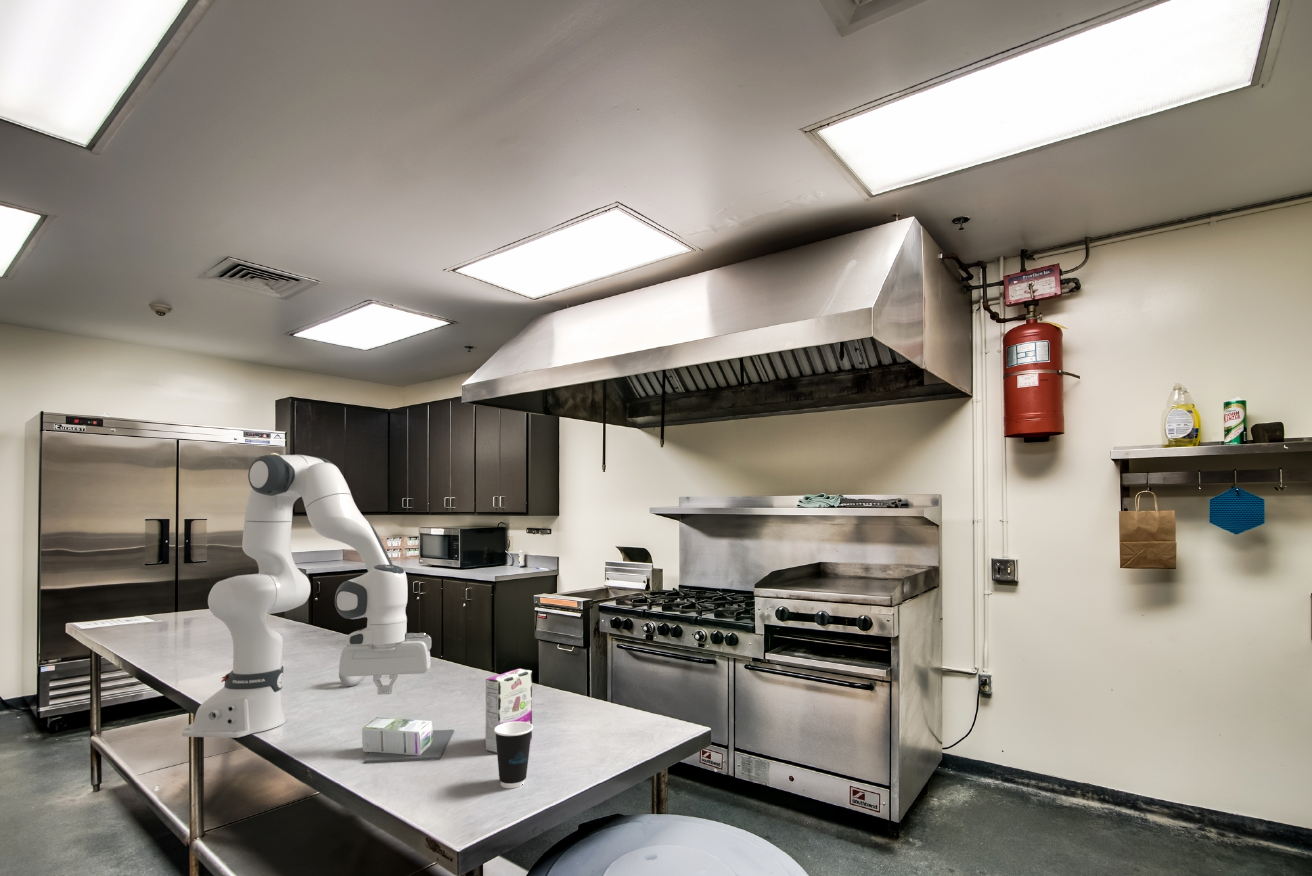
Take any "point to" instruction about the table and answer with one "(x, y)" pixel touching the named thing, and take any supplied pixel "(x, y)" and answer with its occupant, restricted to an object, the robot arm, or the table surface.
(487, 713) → the candy bar box
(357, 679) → the donut
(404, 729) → the syrup box
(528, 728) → the dixie cup
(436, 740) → the mat
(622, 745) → the table surface
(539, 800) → the table surface
